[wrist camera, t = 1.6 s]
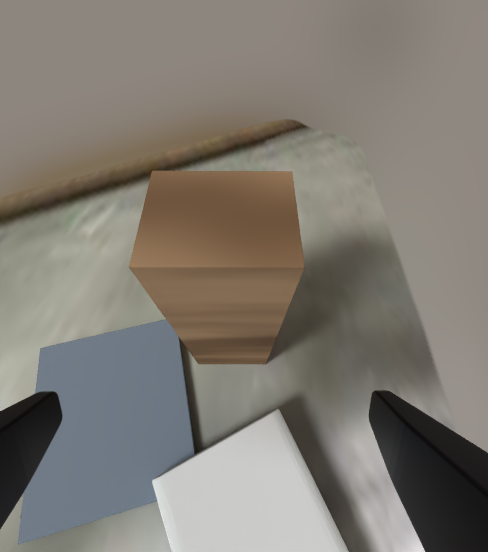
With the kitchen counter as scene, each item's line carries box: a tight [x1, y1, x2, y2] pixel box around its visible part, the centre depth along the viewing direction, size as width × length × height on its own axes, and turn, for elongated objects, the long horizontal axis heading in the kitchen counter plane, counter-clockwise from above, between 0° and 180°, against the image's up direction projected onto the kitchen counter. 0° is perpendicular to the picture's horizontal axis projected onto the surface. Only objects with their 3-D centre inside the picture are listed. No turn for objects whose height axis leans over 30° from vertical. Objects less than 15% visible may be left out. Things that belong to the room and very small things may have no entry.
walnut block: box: [129, 171, 305, 364], centre depth 15 cm, size 4×5×14 cm
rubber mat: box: [18, 320, 196, 544], centre depth 18 cm, size 11×10×1 cm
